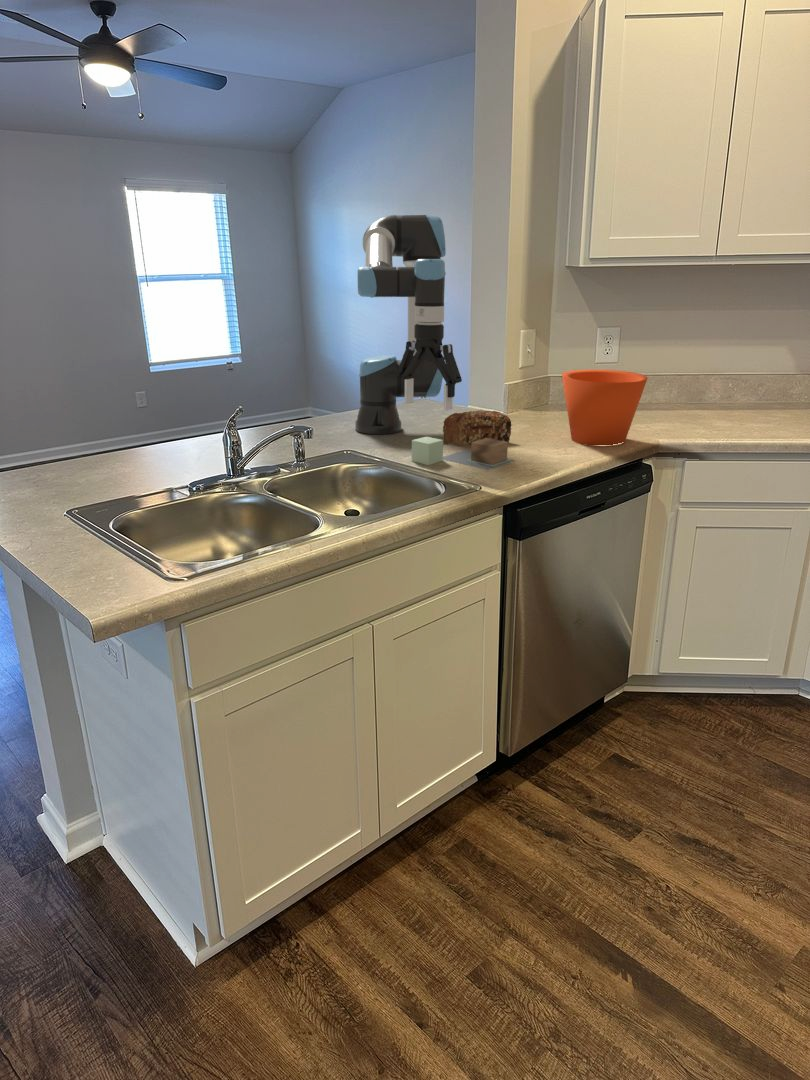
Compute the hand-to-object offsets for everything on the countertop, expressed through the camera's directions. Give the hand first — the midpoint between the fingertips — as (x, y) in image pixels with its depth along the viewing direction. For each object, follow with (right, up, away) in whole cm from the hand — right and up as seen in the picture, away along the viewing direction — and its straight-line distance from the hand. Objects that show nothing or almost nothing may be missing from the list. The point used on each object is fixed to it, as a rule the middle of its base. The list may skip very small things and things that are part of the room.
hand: (428, 406), depth 197 cm
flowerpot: (+54, -5, +34) cm, 64 cm away
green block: (0, -15, +6) cm, 16 cm away
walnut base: (+17, -14, +6) cm, 23 cm away
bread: (+16, -6, +29) cm, 34 cm away
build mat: (+14, -14, +8) cm, 21 cm away
